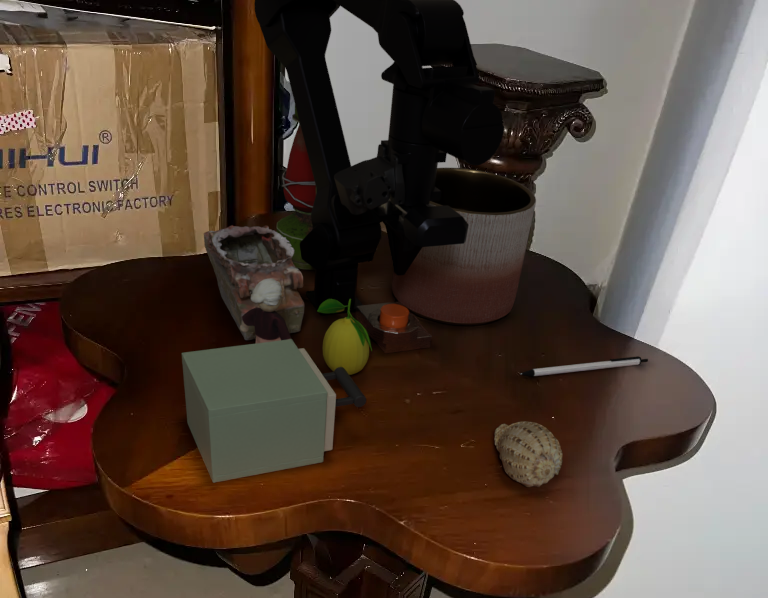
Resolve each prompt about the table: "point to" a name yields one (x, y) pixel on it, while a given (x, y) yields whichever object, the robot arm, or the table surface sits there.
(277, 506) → the table surface
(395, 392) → the table surface
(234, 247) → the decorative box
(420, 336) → the control block
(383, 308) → the button
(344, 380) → the drawer
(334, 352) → the lemon
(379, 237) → the robot arm
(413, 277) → the planter
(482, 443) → the table surface
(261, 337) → the grandmother figurine
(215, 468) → the cabinet
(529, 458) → the seashell
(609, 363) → the pen
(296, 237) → the lantern
